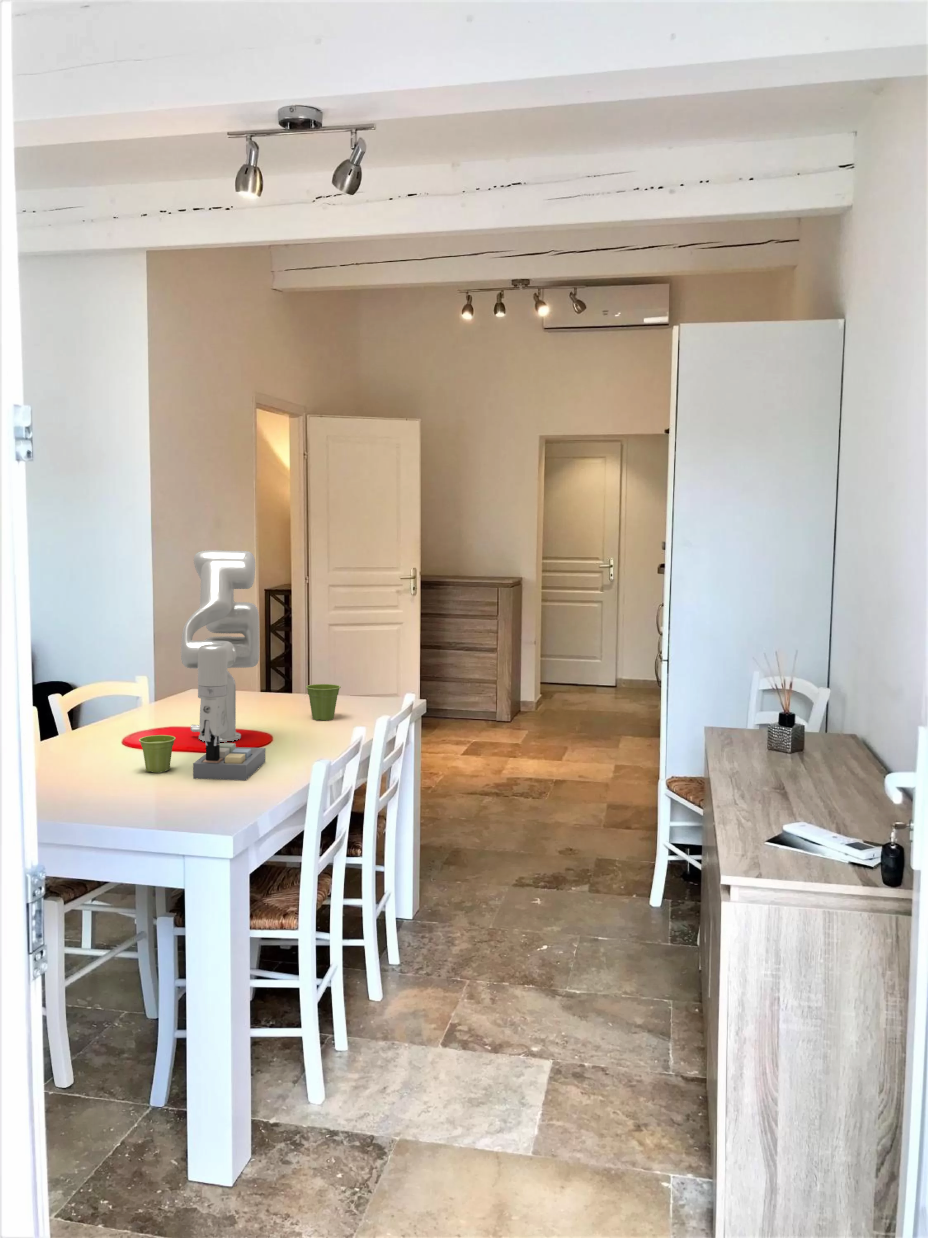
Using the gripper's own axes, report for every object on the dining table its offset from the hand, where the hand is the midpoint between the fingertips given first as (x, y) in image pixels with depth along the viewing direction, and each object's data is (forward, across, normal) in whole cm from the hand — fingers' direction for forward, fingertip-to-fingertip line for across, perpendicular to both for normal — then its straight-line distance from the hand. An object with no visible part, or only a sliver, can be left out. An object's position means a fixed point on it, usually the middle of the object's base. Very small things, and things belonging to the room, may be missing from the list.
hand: (212, 760), depth 269 cm
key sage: (+2, +12, 0) cm, 12 cm away
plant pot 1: (+4, +3, +16) cm, 17 cm away
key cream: (+2, +6, 0) cm, 6 cm away
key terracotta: (+3, 0, 0) cm, 3 cm away
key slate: (+2, +6, -6) cm, 9 cm away
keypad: (+4, +6, -3) cm, 8 cm away
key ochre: (+2, 0, -6) cm, 6 cm away
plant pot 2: (+4, +79, -14) cm, 81 cm away
